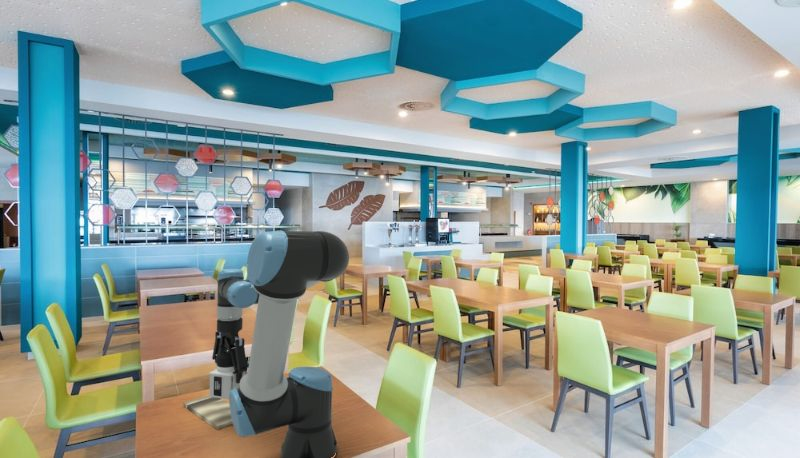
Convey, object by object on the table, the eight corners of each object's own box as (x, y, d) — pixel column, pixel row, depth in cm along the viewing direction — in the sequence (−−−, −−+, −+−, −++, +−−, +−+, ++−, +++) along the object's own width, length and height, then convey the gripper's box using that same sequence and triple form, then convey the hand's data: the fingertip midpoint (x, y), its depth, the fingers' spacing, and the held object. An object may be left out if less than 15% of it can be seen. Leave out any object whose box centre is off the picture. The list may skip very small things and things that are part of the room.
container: (230, 400, 127) (231, 358, 126) (208, 397, 128) (209, 355, 128) (245, 390, 134) (246, 350, 134) (224, 387, 136) (225, 348, 136)
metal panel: (247, 418, 134) (247, 414, 133) (217, 429, 126) (217, 426, 126) (212, 396, 149) (212, 393, 149) (183, 405, 141) (183, 402, 141)
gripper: (260, 322, 127) (258, 394, 127) (223, 310, 141) (222, 374, 142) (237, 327, 121) (235, 402, 122) (201, 313, 135) (200, 381, 136)
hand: (228, 387), depth 132 cm, fingers closed on container, 10 cm apart
